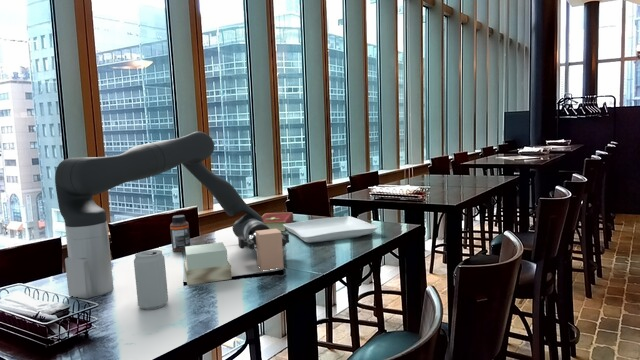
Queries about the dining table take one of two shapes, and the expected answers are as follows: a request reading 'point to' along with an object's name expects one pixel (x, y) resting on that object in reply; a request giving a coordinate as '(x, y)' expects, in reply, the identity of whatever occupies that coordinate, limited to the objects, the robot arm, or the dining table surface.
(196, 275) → the birch base block
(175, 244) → the supplement bottle
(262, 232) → the terracotta pillar block
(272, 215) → the hardcover book
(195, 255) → the sage top block
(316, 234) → the square plate
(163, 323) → the dining table surface
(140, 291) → the beverage can
